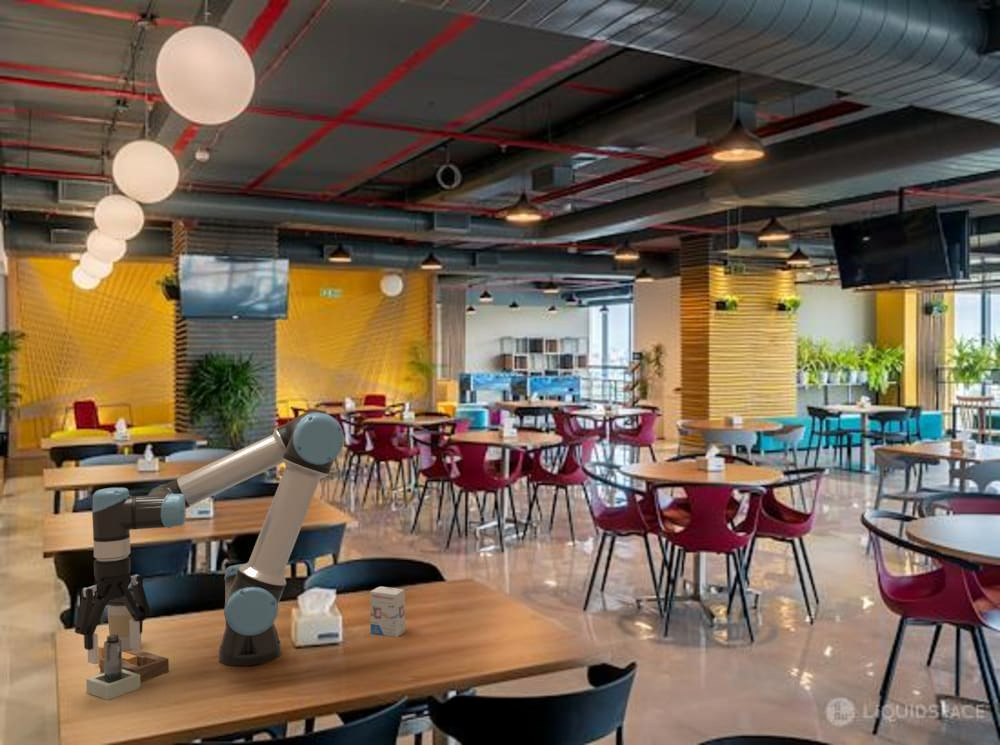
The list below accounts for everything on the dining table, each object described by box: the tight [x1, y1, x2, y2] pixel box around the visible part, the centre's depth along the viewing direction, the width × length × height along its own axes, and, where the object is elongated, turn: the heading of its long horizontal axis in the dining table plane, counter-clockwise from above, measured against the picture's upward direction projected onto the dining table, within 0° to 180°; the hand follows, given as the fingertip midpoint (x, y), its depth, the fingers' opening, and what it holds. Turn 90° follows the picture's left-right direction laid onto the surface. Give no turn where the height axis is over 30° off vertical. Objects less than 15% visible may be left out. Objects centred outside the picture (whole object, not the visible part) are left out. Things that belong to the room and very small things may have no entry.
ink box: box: [369, 586, 406, 638], centre depth 229 cm, size 9×5×12 cm, turn 68°
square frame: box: [85, 669, 141, 701], centre depth 190 cm, size 8×8×3 cm
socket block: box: [99, 649, 170, 682], centre depth 201 cm, size 14×9×3 cm, turn 58°
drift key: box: [97, 644, 137, 666], centre depth 204 cm, size 10×4×4 cm, turn 58°
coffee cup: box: [106, 587, 144, 652], centre depth 217 cm, size 9×9×15 cm
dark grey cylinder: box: [103, 635, 122, 683], centre depth 190 cm, size 4×4×12 cm
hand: (114, 655), depth 190 cm, fingers open, 10 cm apart
